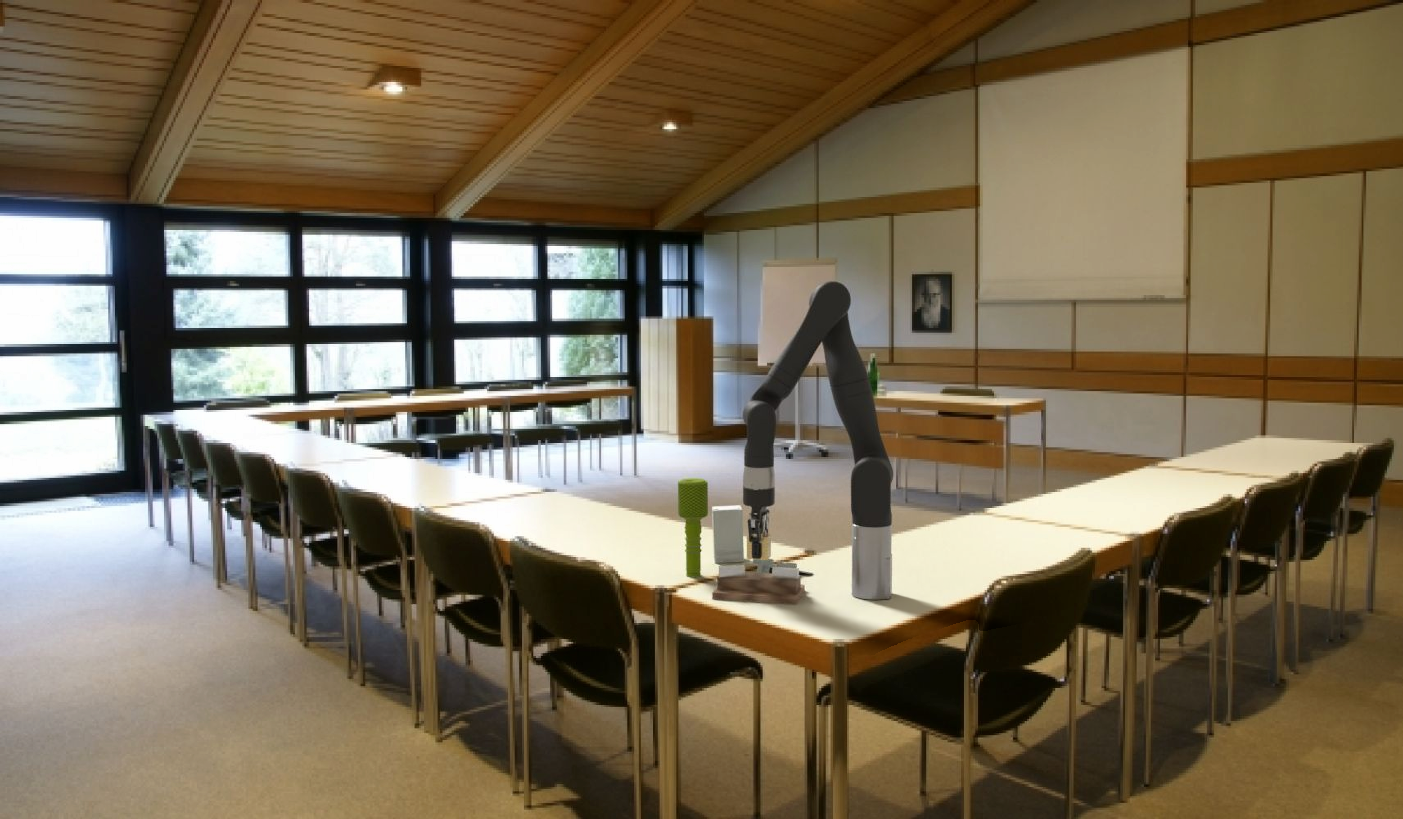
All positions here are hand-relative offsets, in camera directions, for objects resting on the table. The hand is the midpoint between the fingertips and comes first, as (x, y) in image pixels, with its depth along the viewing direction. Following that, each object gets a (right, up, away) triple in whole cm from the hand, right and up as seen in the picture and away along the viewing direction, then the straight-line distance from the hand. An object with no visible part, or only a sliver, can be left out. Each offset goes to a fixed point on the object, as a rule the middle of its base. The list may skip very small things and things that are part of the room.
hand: (758, 555), depth 241 cm
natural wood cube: (0, 0, 0) cm, 0 cm away
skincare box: (-6, -7, +34) cm, 36 cm away
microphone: (-16, -8, +19) cm, 26 cm away
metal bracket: (+6, -8, +20) cm, 22 cm away
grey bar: (0, -5, -1) cm, 5 cm away
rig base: (0, -9, +1) cm, 9 cm away
